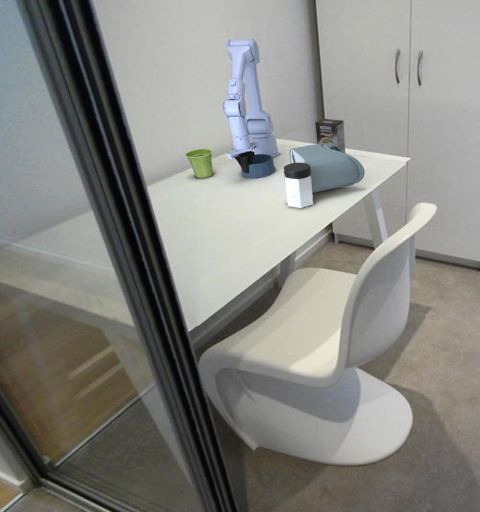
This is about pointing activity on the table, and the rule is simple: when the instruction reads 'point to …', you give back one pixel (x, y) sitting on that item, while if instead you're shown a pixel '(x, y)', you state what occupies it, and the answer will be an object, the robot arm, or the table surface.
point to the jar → (298, 184)
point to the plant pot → (200, 162)
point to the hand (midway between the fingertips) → (247, 172)
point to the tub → (260, 166)
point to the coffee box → (331, 132)
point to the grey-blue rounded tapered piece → (328, 166)
